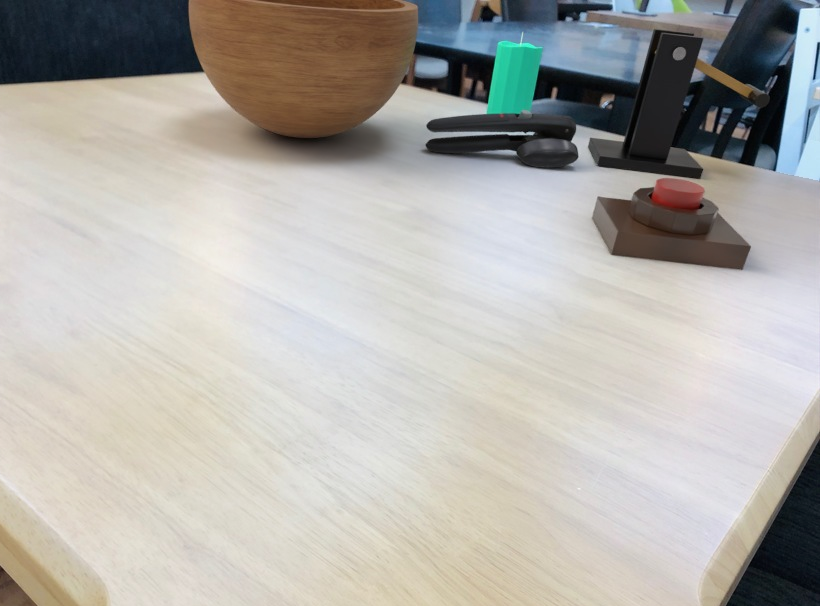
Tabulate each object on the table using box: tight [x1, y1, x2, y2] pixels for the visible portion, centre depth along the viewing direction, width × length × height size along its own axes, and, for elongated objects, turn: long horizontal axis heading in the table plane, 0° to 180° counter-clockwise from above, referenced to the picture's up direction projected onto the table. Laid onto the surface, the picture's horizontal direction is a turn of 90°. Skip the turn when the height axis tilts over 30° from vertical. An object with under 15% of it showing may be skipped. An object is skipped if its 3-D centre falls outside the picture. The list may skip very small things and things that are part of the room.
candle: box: [485, 31, 544, 114], centre depth 95 cm, size 6×6×12 cm
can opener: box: [425, 110, 580, 168], centre depth 82 cm, size 18×7×6 cm, turn 88°
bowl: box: [188, 0, 419, 139], centre depth 81 cm, size 25×25×15 cm
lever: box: [655, 51, 771, 109], centre depth 81 cm, size 13×6×2 cm, turn 82°
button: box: [651, 177, 706, 210], centre depth 61 cm, size 4×4×2 cm
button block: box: [591, 186, 752, 271], centre depth 62 cm, size 11×9×4 cm
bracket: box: [587, 28, 704, 179], centre depth 84 cm, size 12×9×15 cm
